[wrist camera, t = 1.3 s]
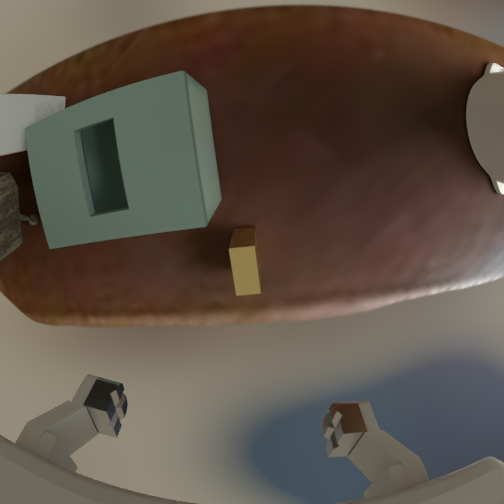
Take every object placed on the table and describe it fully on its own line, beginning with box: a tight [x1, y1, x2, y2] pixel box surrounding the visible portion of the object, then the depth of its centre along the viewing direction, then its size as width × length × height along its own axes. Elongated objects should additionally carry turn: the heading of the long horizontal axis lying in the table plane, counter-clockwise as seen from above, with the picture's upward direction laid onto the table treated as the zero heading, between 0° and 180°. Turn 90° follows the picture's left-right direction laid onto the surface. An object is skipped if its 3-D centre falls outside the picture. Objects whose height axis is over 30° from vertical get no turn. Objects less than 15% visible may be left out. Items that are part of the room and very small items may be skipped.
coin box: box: [25, 71, 222, 249], centre depth 25 cm, size 16×12×10 cm
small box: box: [0, 94, 66, 156], centre depth 22 cm, size 8×6×13 cm
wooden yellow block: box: [229, 226, 261, 296], centre depth 31 cm, size 2×5×6 cm, turn 7°
